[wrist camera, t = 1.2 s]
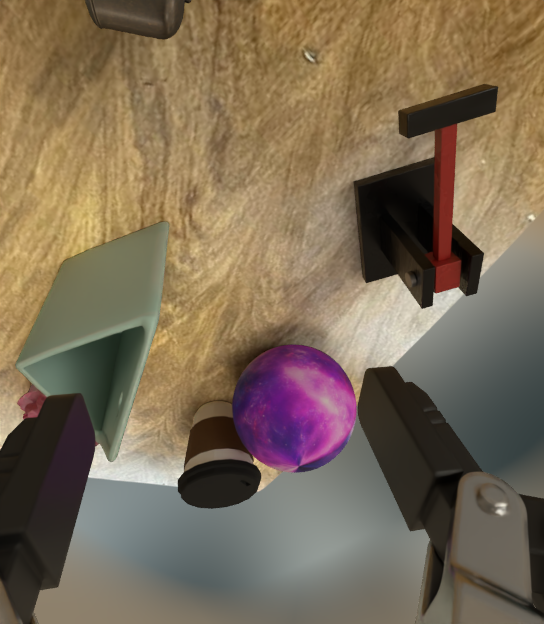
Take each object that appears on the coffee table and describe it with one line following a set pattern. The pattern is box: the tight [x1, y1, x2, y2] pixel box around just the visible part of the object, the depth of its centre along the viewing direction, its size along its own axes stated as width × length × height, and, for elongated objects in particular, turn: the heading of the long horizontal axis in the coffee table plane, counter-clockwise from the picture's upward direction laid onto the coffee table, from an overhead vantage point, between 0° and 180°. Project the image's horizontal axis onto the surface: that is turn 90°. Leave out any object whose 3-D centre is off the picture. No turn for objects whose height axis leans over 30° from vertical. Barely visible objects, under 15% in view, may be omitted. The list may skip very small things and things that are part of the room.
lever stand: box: [354, 157, 484, 309], centre depth 36 cm, size 12×9×11 cm
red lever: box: [398, 84, 498, 293], centre depth 29 cm, size 15×6×2 cm, turn 14°
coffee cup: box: [178, 401, 261, 509], centre depth 53 cm, size 11×11×12 cm
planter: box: [15, 222, 169, 462], centre depth 31 cm, size 16×8×20 cm, turn 151°
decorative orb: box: [232, 345, 356, 472], centre depth 46 cm, size 15×15×15 cm
